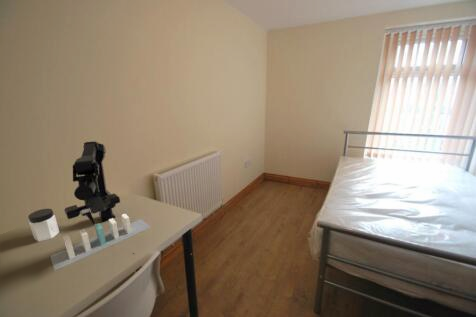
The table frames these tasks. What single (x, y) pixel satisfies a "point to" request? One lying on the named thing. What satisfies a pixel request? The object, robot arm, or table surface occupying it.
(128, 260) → the table surface
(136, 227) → the runner mat
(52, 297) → the table surface
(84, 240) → the domino
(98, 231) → the domino
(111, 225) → the domino
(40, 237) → the jar
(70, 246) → the domino
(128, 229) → the domino
